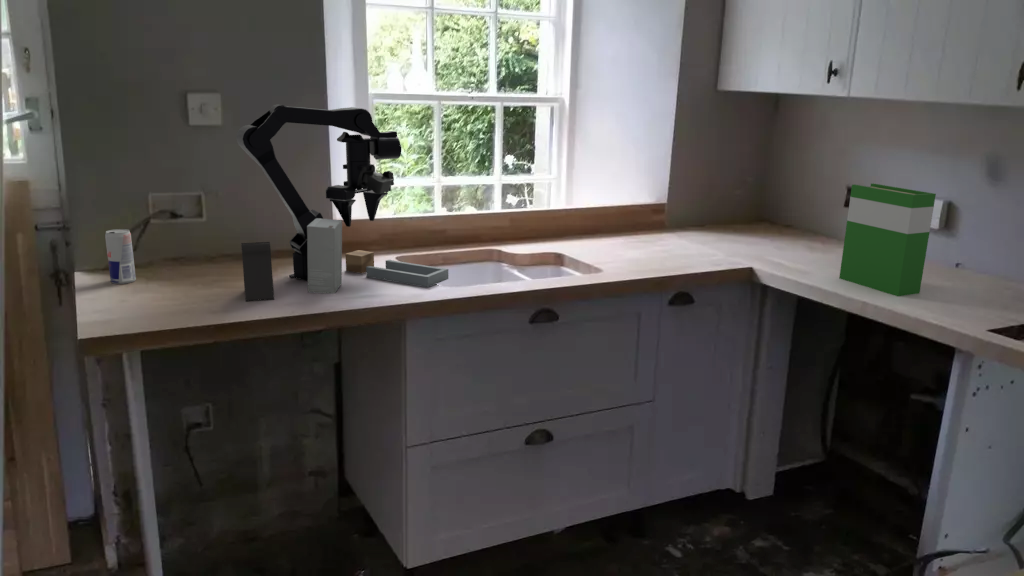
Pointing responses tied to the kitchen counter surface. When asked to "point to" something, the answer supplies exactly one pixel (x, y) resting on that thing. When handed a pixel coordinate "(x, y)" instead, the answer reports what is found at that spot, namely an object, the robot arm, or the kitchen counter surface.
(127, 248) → the energy drink
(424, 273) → the slate channel
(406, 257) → the kitchen counter surface
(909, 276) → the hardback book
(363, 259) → the walnut block
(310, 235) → the skincare box
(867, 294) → the kitchen counter surface
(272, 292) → the dark grey upright block
